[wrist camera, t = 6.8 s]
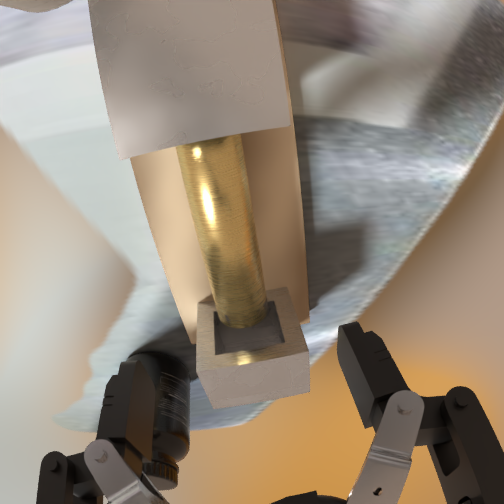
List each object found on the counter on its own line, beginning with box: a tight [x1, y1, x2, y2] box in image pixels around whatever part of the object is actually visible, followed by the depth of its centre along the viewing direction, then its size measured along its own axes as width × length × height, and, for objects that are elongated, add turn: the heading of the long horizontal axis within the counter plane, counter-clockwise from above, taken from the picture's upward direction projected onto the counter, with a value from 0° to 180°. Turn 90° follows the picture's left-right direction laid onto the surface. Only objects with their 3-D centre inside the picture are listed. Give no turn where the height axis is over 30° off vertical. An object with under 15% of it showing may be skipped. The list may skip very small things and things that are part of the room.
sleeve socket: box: [88, 0, 310, 409], centre depth 16 cm, size 7×27×7 cm, turn 8°
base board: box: [130, 0, 310, 344], centre depth 20 cm, size 10×26×1 cm, turn 8°
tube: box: [175, 134, 268, 328], centre depth 16 cm, size 16×3×3 cm, turn 8°
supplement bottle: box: [126, 352, 190, 490], centre depth 24 cm, size 7×7×12 cm
